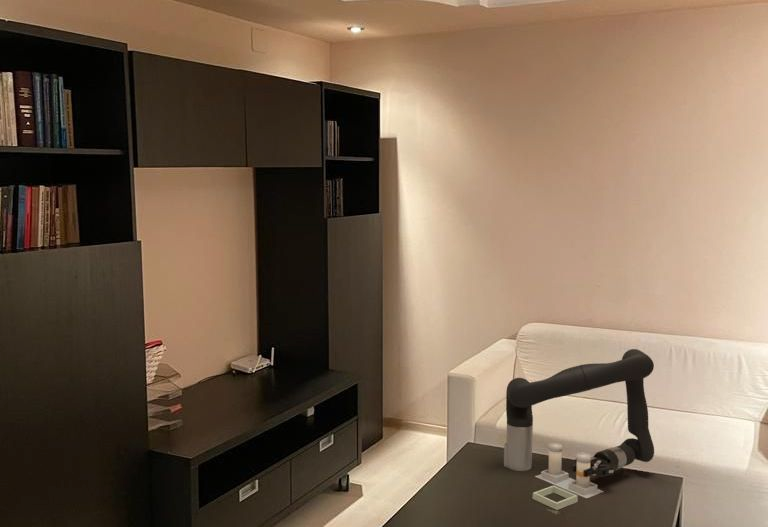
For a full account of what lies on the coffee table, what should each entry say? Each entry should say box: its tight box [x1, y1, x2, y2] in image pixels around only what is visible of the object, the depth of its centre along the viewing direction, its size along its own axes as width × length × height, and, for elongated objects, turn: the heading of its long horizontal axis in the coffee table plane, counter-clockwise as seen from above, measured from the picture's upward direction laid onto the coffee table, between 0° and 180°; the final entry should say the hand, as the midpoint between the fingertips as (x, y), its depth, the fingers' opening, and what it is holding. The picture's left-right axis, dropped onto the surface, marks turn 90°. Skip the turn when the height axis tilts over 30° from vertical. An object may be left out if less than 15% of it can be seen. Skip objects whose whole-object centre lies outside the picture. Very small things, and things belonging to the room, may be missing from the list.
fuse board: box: [534, 469, 604, 499], centre depth 246 cm, size 22×9×4 cm, turn 36°
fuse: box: [547, 441, 563, 477], centre depth 251 cm, size 5×5×12 cm
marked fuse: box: [575, 451, 592, 489], centre depth 241 cm, size 5×5×12 cm
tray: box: [532, 484, 579, 515], centre depth 233 cm, size 10×10×4 cm
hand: (578, 471), depth 239 cm, fingers closed on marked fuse, 4 cm apart
